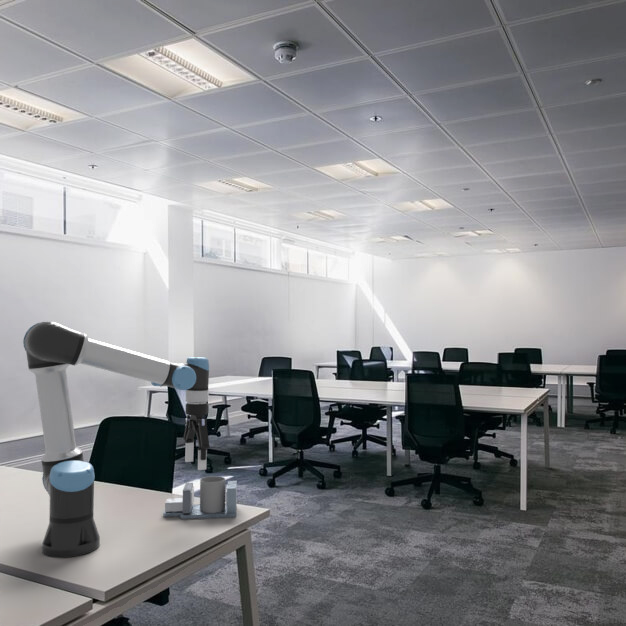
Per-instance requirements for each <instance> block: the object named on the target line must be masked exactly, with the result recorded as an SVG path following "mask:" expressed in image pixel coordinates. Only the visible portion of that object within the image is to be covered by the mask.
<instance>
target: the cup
mask: <svg viewBox="0 0 626 626" xmlns="http://www.w3.org/2000/svg"><path fill="white" fill-rule="evenodd" d="M225 503H226V478H225V477H224V476H216V475H215V476H204V477H202V478H201V479H199V504H200V510H201V511H202V512H207V513H215V512H220V511H223V510H224V509H225Z"/></svg>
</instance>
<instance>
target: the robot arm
mask: <svg viewBox="0 0 626 626" xmlns="http://www.w3.org/2000/svg"><path fill="white" fill-rule="evenodd" d="M22 340H23V341H22V343H23V348H24V351H25V353H26V360H27V366H28V370H29V371H30V372H32V373H33V374H34V375H35V384H36V390H37V396H38V398H37V399H38V406H39V410H40V411H39V412H40V419H41V427H42V435H43V441H44V447H45V453H44V455H43V456H42V457H41V465H42V466H41V467H42V479H41V480H42V484H43V488H44V489H45V490H46V492H47V495H49V519H48V520H49V523H48V525H47V529H46V532H45V535H44V538H43V540H42V544H41V553H42V554H43V555H44V556H47V557H51V558H72V557H77V556H83V555H85V554H89V553H91V552H93V551H95V550H97V549H98V548H99V546H100V545H101V544H100V543H101V541H100V538H101V537H100V534H99V531H98V527H97V525H96V522H95V519H94V512H95V511H94V505H95V504H94V503H95V501H94V500H95V499H94V498H95V495H94V494H95V477H96V476H95V475H96V474H95V469H94V466H93V465H92V464H91V463H90V462H88V461H84V456H83V450H82V449H81V448H80V447H78V446H77V444H76V435H75V427H74V421H73V414H72V413H73V412H72V405H71V398H70V397H71V396H70V392H69V384H68V383H69V382H68V377H67V369H68V367H69V366H70V365H71V366H77V365H79V364H81V365H84V366H89V367H91V368H92V367H93V368H95V369H96V368H97V369H101V370H104V371H108V372H113V373H115V374H119V375H124V376H127V377H131V378H135V379H138V380H143V381H147V382H150V383H151V386H152V387H161V388H162V387H170V388H173V389H175V390H179V391H185V402H186V403H185V414H186V423H185V427H184V433H183V440H184V443H185V446H184V447H185V452H184V453H185V454H184V455H185V456H184V458H185V459H184V461H185V463H191V462H192V463H193V462H194V451H195V450H194V449H195V448H194V447H195V444H194V443H195V442H196V441H195V439H194V438H195V435H196V439H197V444H198V448H197V471H203V470H205V471H206V470H207V463H208V462H207V456H208V455H207V454H208V449H210V439H209V431H208V422H207V421H208V420H207V418H204V416H205V415H208V413H209V404H208V403H207V402H209V395H210V392H209V382H210V381H209V380H210V379H209V378H210V363H209V362H210V361H209V359H208V358H207V357H201V356H200V357H199V356H197V357H196V356H193V357H191V356H190V357H187V358H186V362H183V363H176V362H173V361H169V360H166V359H163V358H162V359H161V358H158V357H155V356H152V355H148V354H144V353H141V352H138V351H134V350H131V349H127V348H123V347H120V346H117V345H112V344H110V343H106V342H102V341H99V340H96V339H91V338H89V337H88V336H87V334H86V333H83V332H80V331H78V330H75V329H72V328H70V327H67V326H66V325H62V324H61V323H58V322H55V321H42V322H37V323H35V324H33V325H32V326H31V327H29V328H28V329H27V331H26V332H25V334H24V337H23V339H22Z"/></svg>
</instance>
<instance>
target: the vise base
mask: <svg viewBox="0 0 626 626" xmlns="http://www.w3.org/2000/svg"><path fill="white" fill-rule="evenodd" d="M237 488H238V487H237V480H228V481H227V484H226V486H225V509H224V510H223V511H220V512H215V513H207V512H202V511H201V510H200V503H199V504H197V503H195V504H194V503H193V506H192V509H191V513H183V511H175V512H165V510H164V511H163V518H167V517H169V518H170V517H171V516H175V517H180V520H189V518H198V519H222V518H223V519H224V518H227V519H228V518H236V517H237V503H238V502H237V499H238V498H237V497H238V496H237V494H238V493H237V490H238V489H237ZM171 518H172V517H171Z"/></svg>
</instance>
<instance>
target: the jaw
mask: <svg viewBox="0 0 626 626" xmlns="http://www.w3.org/2000/svg"><path fill="white" fill-rule="evenodd" d="M194 502H195V486H194V483H193V482H186V483H184V486H183V489H182V497H175V498H173V497H172V498H171V497H170V498H166V500H165V502H164V511H165V512H175V511H183V513H191V509H192V506H193V504H194Z"/></svg>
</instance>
